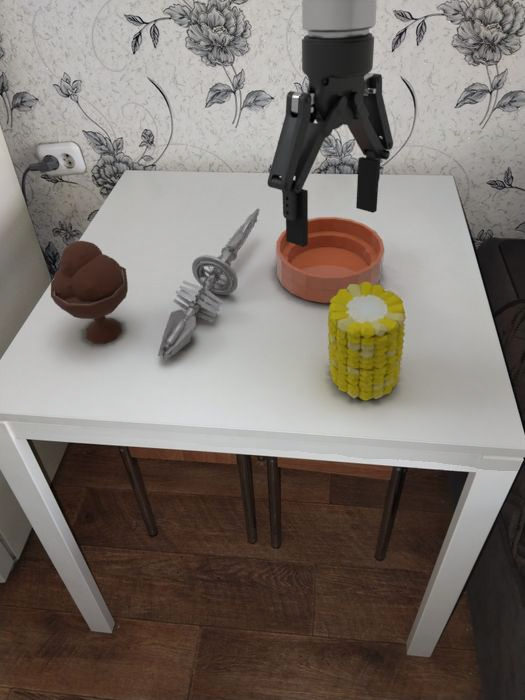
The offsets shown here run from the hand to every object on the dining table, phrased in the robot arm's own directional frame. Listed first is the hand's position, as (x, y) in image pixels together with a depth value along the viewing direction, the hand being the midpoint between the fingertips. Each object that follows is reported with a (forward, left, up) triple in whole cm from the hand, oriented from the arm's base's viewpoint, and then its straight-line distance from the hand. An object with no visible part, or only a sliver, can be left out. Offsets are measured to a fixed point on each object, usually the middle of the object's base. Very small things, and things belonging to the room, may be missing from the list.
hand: (333, 225), depth 73 cm
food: (-8, +4, -20) cm, 22 cm away
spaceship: (+21, +1, -20) cm, 29 cm away
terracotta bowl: (+9, -14, -20) cm, 26 cm away
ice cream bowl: (+29, +18, -20) cm, 39 cm away
